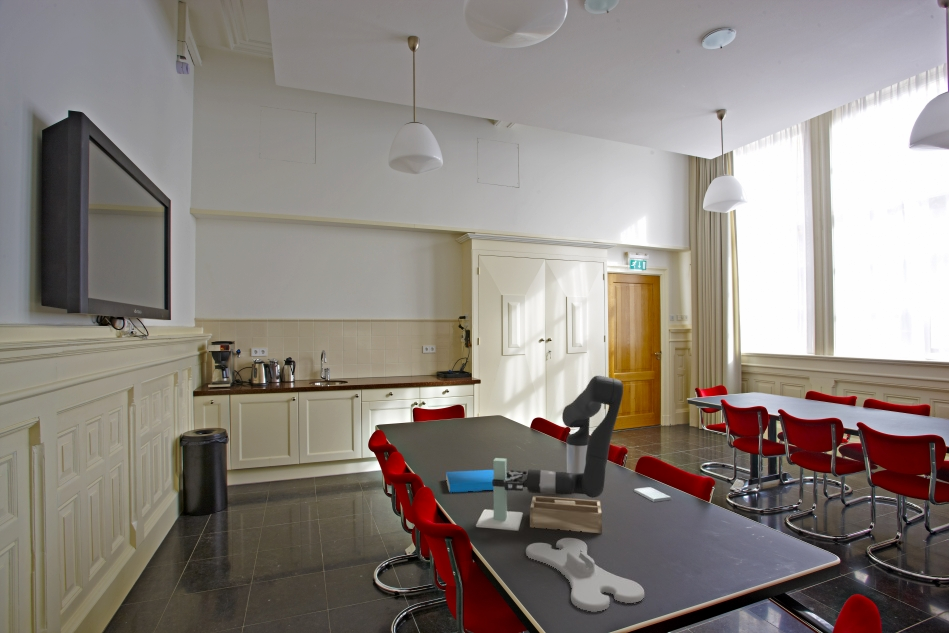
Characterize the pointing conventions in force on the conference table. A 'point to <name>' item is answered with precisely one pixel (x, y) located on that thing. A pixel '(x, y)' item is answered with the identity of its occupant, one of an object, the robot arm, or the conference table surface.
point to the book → (469, 480)
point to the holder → (585, 575)
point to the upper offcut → (564, 502)
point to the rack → (566, 514)
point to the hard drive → (652, 494)
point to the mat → (509, 524)
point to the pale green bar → (500, 489)
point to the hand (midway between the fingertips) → (494, 478)
